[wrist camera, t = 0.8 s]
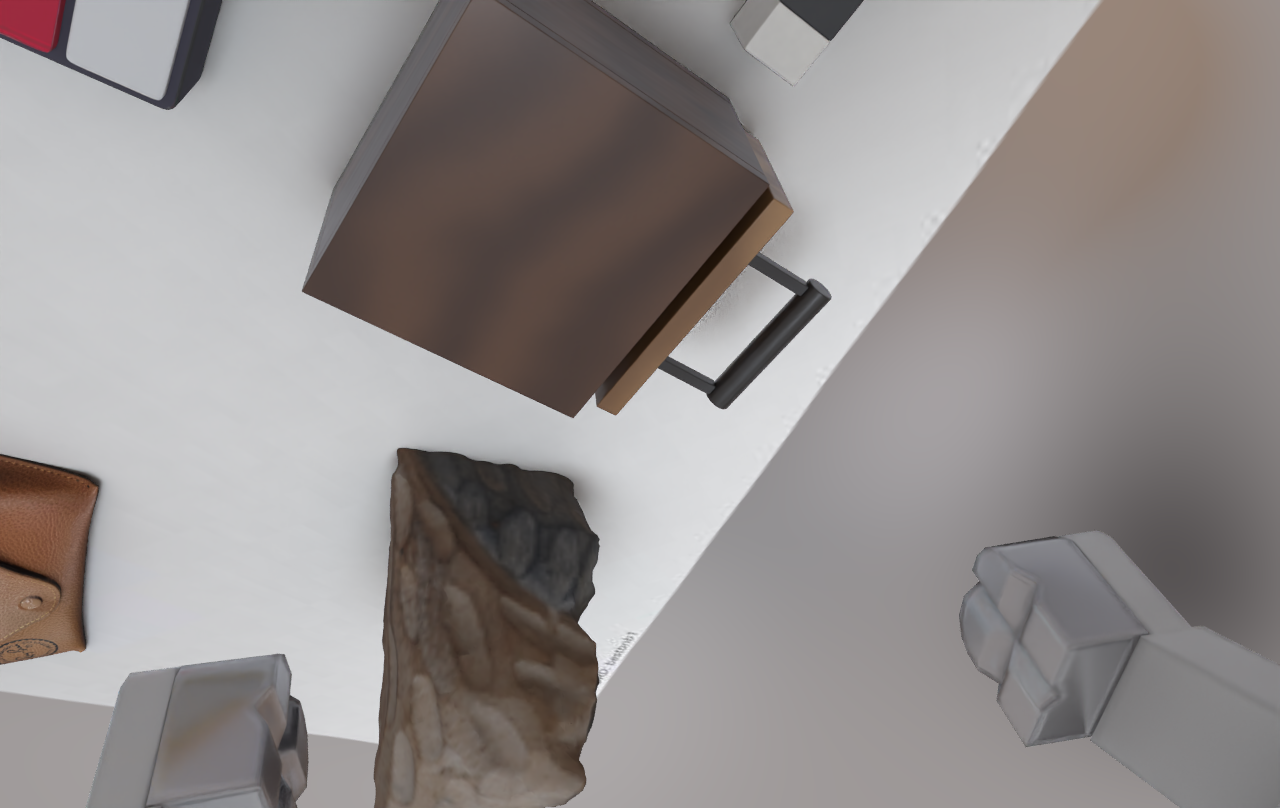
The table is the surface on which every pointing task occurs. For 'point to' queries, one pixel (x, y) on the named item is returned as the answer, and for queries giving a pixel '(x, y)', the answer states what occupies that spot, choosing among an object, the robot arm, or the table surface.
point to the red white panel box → (119, 41)
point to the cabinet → (533, 195)
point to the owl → (484, 637)
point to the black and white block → (790, 31)
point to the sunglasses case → (42, 558)
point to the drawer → (705, 292)
